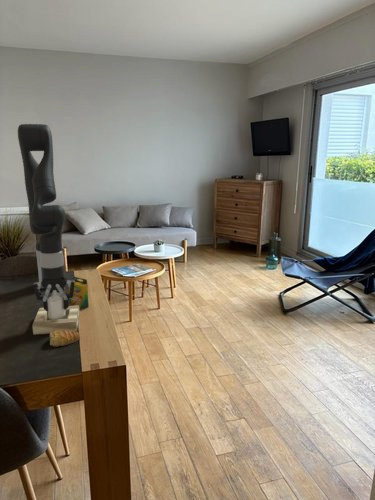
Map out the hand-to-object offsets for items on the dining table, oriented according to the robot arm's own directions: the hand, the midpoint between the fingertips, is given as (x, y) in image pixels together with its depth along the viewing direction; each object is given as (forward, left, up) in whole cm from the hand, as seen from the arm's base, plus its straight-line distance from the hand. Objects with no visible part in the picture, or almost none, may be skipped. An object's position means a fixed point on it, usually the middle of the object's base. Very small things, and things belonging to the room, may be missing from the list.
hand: (56, 309), depth 130 cm
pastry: (+13, +3, -6) cm, 15 cm away
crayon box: (-14, +6, -6) cm, 17 cm away
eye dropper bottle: (0, 0, -3) cm, 3 cm away
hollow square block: (0, 0, -5) cm, 5 cm away
